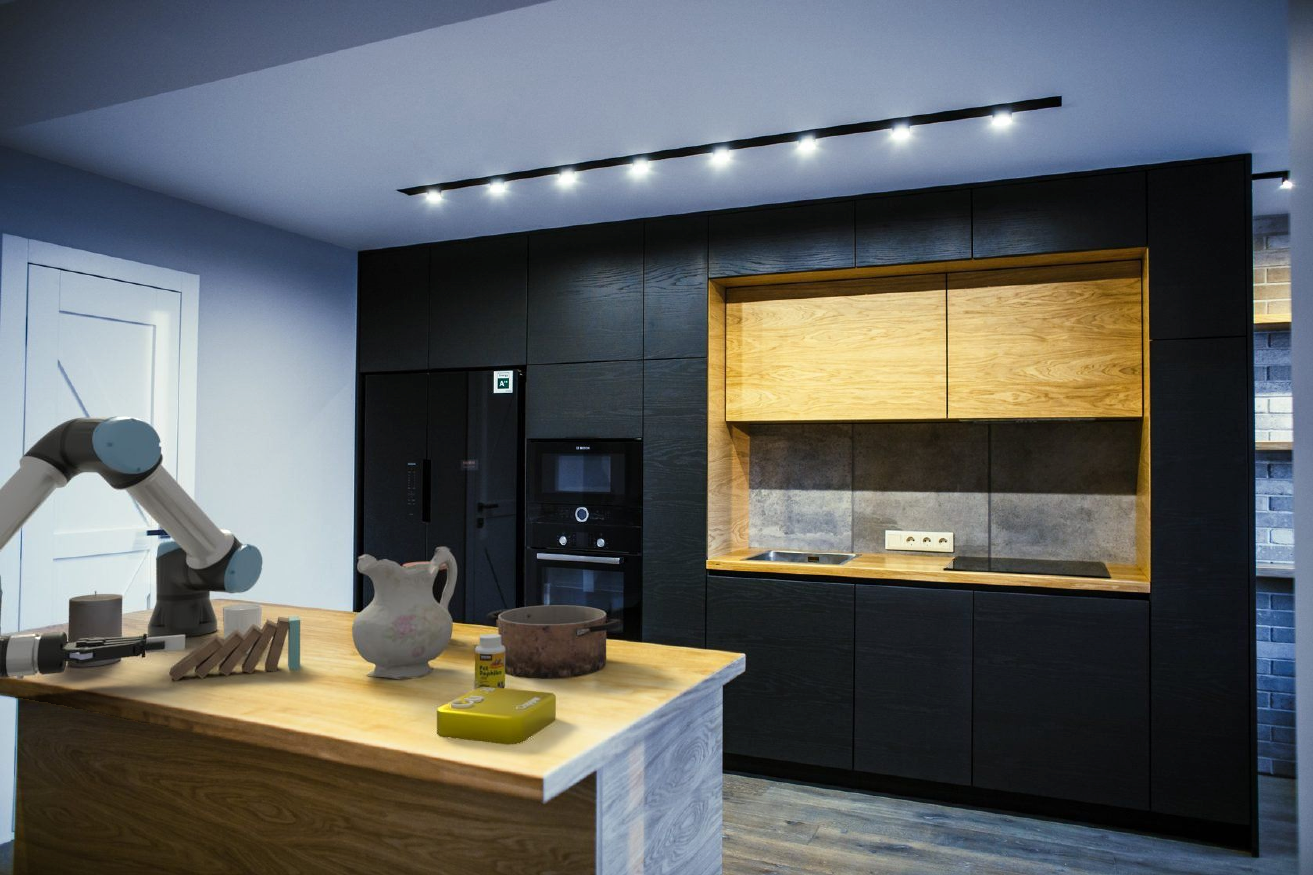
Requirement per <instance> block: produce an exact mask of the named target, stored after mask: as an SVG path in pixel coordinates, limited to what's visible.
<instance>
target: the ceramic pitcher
mask: <svg viewBox="0 0 1313 875" xmlns="http://www.w3.org/2000/svg"><path fill="white" fill-rule="evenodd" d="M434 550H435V551H434V556H433V557H432V559H431V560H430V561H429V562H430V563H429V564H415V565H412V566H407V567H405V568H404V567H403V565H402V566H401V565H400V564H399V563H398V562H396V561H393V560H389V559H387V558H384V559H379V560H377V558H375V557H374V556H372V555H370V554H365V553H364V554H362V555H360V556H358V557H357V559H358V562H357V571H358V572H359V573H360V574H363V575H366V576H368V577H369V578H370V579H371V581H372V584H373V589H374V597H373V599H372V601H371V602H370V603H369V604H368V605H367V606H365V607H364V608H363V610H362V611H360V612H359V613H357V614H356V615H355V617H354V619H353V622H352V626H351V633H352V635H351V636H352V640H353V643H354V647H355V649H356V651H357V652H358V654H359V656H360V657H361V658H362V659H364V661H366V662H368V663H371V664H374V665H375V666H374V669H373V671H371V672H369V673H367V674H366V676H367V677H379V678H383V677H384V678H389V679H395V680H404V679H405V680H406V679H411V678H423V677H424V676H426V675H428V674H431V672H433V670H434V668H433V667H431V665H430V664H429V662H431V661H433V660H434V661H435V659H437V658H438V657H439V656H440V655H442V653H443V652H444V651H445V650H446V648H447V647H448V645H449V643H450V641H451V638H452V635H453V628H454V627H453V626H454V624H453V618H452V614H451V613H450V611H449V612H448V603H449V604H450V600H451V599H452V597H453V595H454V591H455V587H456V583H457V578H458V577H457V576H458V565H457V561H456V559H455V556H454V555H453V553H452V552H451V548H449V547H447V545H445V546H444V545H442V546H439V547H436V548H435V549H434ZM443 564H445V565H446V567H447V583H446V585H445V588H444V590H443V594H442V598H441V602H440V604H439V603H437V601H436V600H435V599H434V597H433V593H432V587H433V583H434V579H435V577H436V575H437V573H438V569H439V567H440V566H441V565H443Z"/></svg>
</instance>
